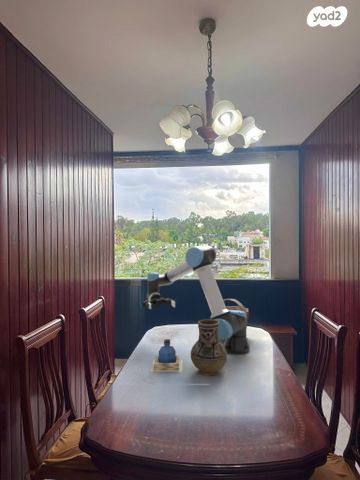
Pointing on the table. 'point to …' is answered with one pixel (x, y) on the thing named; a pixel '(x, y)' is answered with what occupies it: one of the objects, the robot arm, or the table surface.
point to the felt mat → (168, 370)
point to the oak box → (166, 364)
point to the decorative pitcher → (208, 348)
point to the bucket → (238, 309)
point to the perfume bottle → (167, 353)
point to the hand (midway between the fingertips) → (162, 305)
